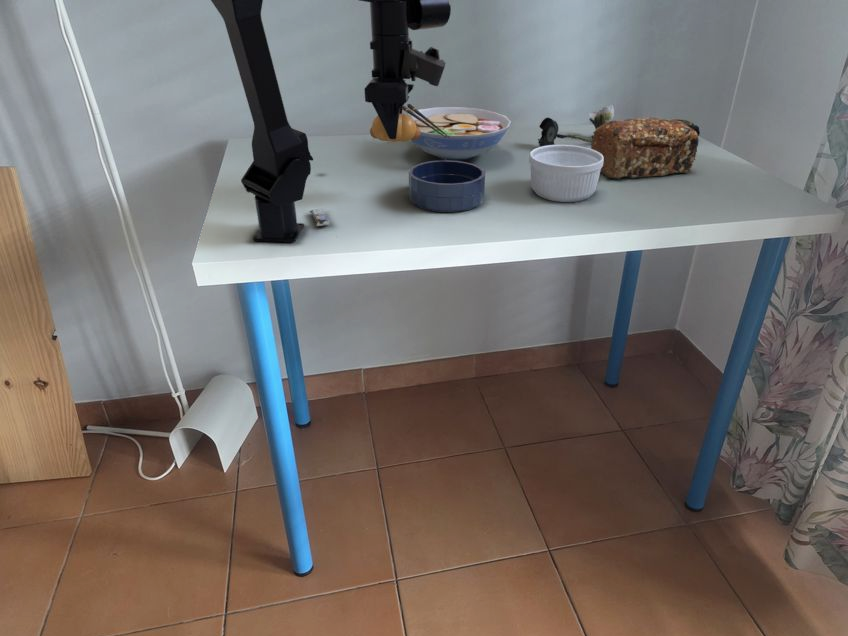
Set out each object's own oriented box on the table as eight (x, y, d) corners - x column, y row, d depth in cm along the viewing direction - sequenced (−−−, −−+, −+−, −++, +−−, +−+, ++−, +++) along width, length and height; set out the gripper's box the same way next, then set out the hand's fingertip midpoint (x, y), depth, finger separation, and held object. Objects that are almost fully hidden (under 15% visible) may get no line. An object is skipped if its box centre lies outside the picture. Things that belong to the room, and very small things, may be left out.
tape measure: (670, 143, 153) (674, 126, 151) (657, 135, 159) (660, 119, 157) (698, 142, 155) (701, 125, 153) (683, 134, 160) (687, 118, 158)
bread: (611, 182, 130) (619, 129, 124) (586, 165, 138) (592, 115, 133) (694, 174, 135) (705, 123, 129) (665, 158, 143) (674, 110, 138)
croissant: (419, 145, 111) (418, 118, 109) (367, 144, 111) (365, 117, 109) (421, 137, 115) (420, 111, 113) (371, 136, 115) (369, 109, 113)
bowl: (483, 214, 114) (484, 186, 111) (405, 211, 114) (404, 183, 111) (484, 188, 125) (485, 161, 122) (413, 185, 125) (413, 159, 122)
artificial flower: (530, 149, 151) (531, 102, 148) (611, 151, 160) (614, 107, 158) (551, 149, 143) (553, 99, 141) (635, 151, 153) (639, 104, 150)
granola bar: (309, 213, 112) (308, 207, 111) (323, 212, 113) (322, 206, 112) (316, 228, 107) (316, 222, 106) (331, 226, 107) (330, 220, 107)
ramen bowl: (529, 168, 135) (533, 127, 131) (421, 180, 128) (421, 136, 123) (481, 136, 155) (483, 98, 150) (385, 144, 147) (384, 105, 143)
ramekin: (542, 207, 117) (545, 168, 113) (516, 183, 128) (519, 146, 124) (611, 202, 120) (616, 163, 117) (580, 178, 131) (584, 142, 127)
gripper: (438, 44, 96) (439, 153, 105) (445, 25, 112) (445, 121, 120) (360, 42, 96) (367, 151, 105) (378, 24, 112) (383, 120, 121)
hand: (394, 135), depth 113 cm, fingers closed on croissant, 4 cm apart
